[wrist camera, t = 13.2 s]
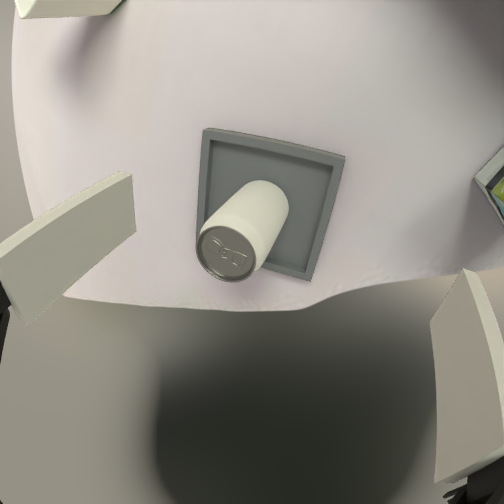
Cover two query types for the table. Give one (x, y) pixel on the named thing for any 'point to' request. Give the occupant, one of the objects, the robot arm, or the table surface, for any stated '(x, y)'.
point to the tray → (282, 175)
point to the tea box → (493, 182)
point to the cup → (64, 8)
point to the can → (242, 231)
